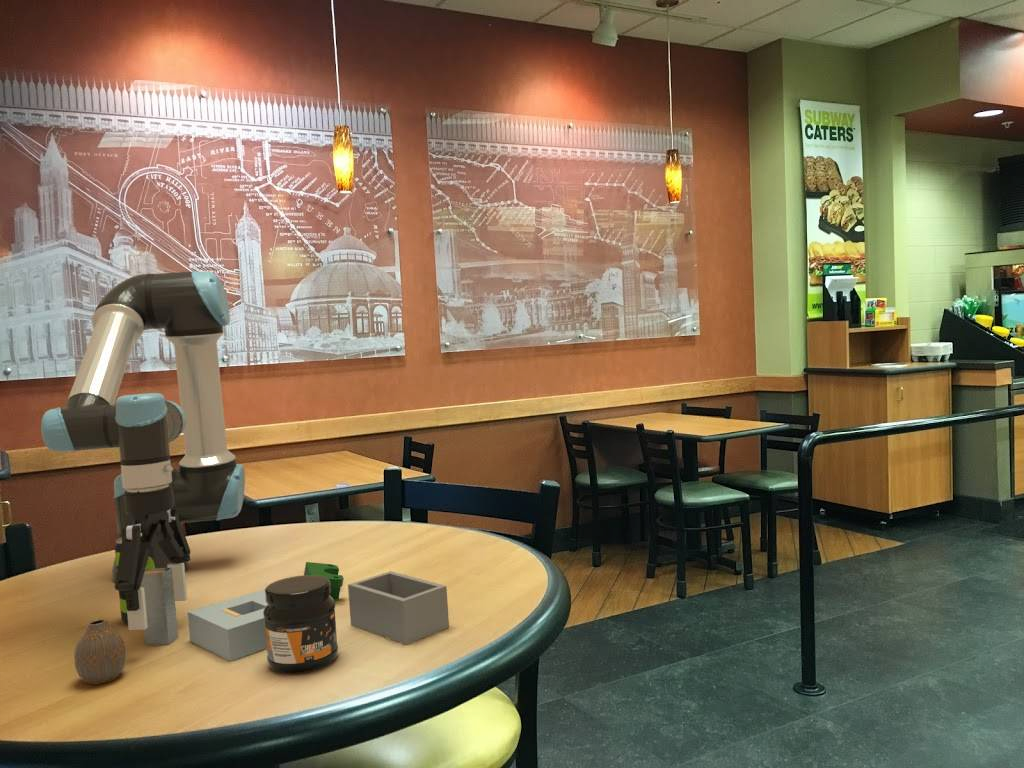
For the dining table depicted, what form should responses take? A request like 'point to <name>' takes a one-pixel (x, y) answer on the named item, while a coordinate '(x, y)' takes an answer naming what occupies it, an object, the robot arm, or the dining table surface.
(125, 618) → the beverage can
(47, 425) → the robot arm
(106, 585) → the dining table surface
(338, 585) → the green mounting bracket
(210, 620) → the plate
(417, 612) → the gray hollow rectangular box
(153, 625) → the brushed metal block
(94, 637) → the vase
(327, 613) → the supplement container
